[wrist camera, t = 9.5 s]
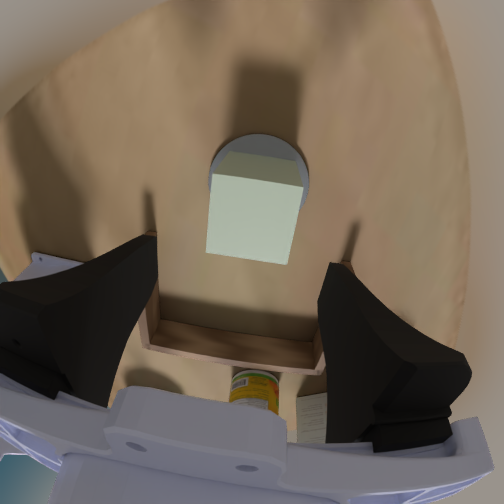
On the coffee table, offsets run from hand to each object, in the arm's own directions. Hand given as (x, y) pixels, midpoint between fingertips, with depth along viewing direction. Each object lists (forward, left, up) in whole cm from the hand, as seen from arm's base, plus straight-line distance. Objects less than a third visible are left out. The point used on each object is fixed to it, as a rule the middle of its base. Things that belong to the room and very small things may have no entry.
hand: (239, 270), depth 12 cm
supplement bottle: (+3, -22, -11) cm, 25 cm away
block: (0, 0, -10) cm, 10 cm away
